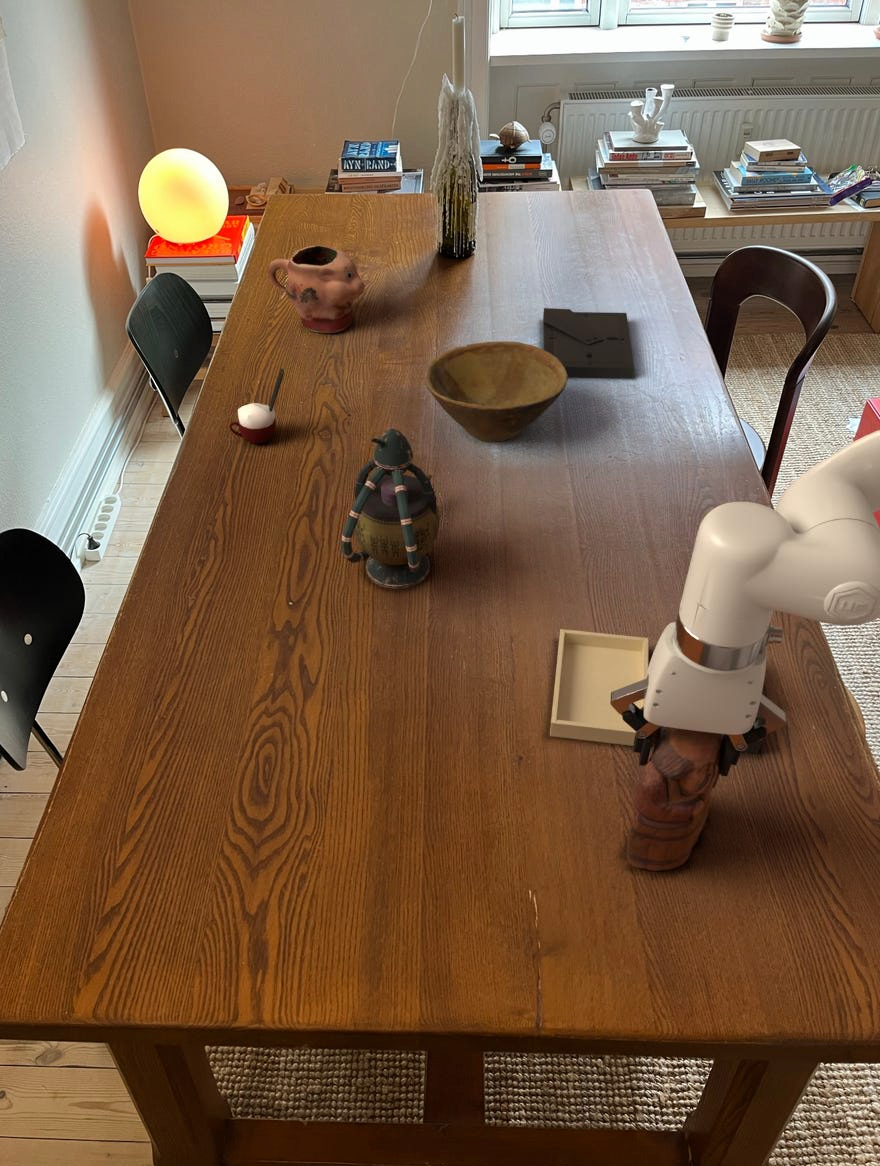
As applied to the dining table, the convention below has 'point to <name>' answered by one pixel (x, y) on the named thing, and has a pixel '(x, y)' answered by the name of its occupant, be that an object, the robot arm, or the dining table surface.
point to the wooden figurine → (673, 798)
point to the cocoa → (258, 418)
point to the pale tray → (595, 685)
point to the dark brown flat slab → (589, 343)
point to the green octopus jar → (392, 516)
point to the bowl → (496, 386)
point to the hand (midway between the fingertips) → (682, 759)
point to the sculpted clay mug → (320, 287)
